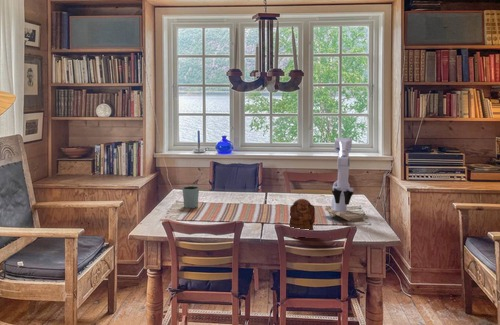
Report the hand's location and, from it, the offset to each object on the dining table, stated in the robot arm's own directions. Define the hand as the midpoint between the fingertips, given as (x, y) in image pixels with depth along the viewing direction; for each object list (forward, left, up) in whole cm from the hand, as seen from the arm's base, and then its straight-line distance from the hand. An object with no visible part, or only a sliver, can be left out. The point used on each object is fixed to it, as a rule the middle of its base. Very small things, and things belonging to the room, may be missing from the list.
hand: (342, 204), depth 246 cm
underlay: (-5, +4, -10) cm, 12 cm away
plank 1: (-8, 0, -7) cm, 11 cm away
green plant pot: (-61, -69, -10) cm, 92 cm away
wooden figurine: (+15, -33, -10) cm, 37 cm away
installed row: (-5, +9, -10) cm, 14 cm away
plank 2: (-1, 0, -7) cm, 8 cm away
